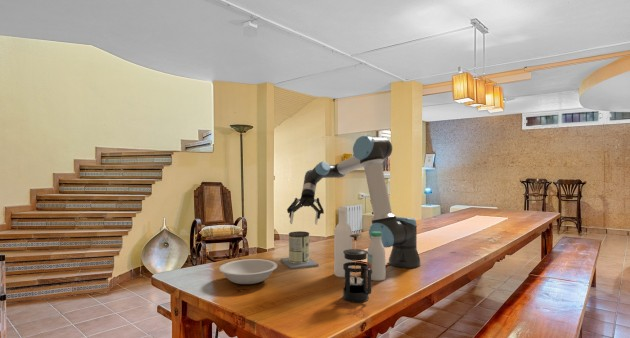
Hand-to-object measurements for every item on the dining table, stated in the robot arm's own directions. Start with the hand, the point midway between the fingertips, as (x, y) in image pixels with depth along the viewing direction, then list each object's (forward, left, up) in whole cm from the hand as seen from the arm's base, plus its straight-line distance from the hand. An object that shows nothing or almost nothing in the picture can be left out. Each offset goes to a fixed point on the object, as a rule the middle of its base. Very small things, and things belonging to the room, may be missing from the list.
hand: (303, 222), depth 188 cm
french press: (-63, +2, -19) cm, 66 cm away
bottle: (-35, -6, -19) cm, 40 cm away
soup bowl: (-29, +35, -19) cm, 49 cm away
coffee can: (-9, +6, -18) cm, 21 cm away
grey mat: (-9, +6, -19) cm, 21 cm away
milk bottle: (-45, -17, -19) cm, 52 cm away
